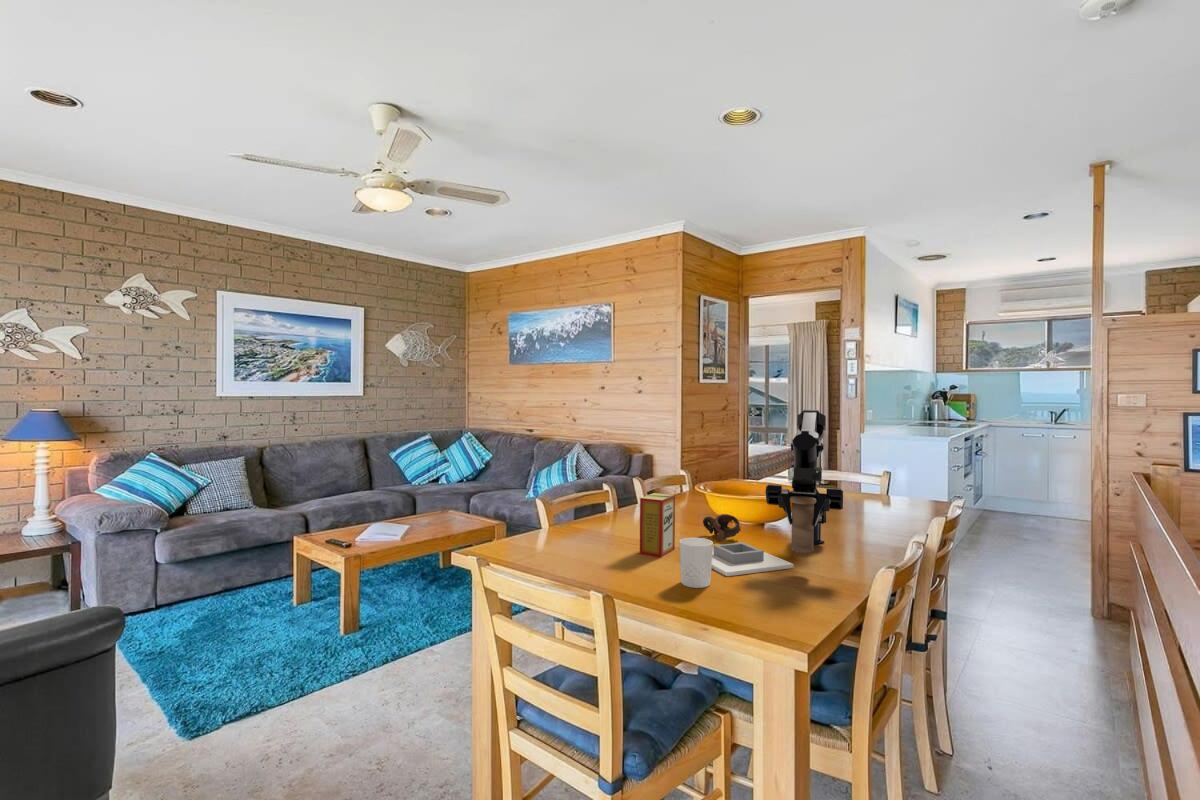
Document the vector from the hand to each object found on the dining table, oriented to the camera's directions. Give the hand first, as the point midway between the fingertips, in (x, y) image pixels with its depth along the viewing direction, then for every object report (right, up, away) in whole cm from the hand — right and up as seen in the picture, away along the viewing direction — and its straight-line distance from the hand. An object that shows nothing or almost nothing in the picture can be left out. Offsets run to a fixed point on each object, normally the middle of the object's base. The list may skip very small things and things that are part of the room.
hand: (802, 524), depth 149 cm
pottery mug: (-13, -12, +37) cm, 41 cm away
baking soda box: (-34, -12, +21) cm, 42 cm away
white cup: (-28, -13, -7) cm, 31 cm away
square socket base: (-13, -12, +11) cm, 21 cm away
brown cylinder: (+1, -7, +1) cm, 7 cm away
